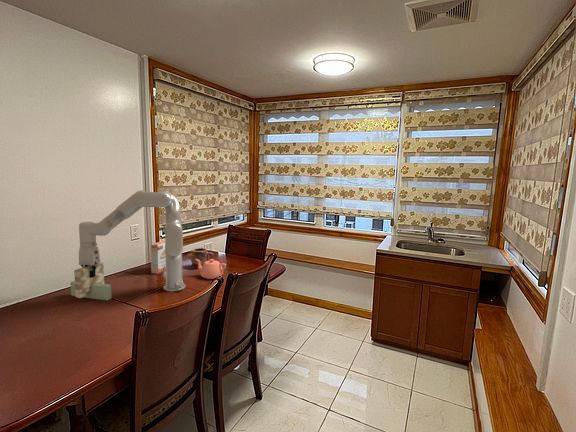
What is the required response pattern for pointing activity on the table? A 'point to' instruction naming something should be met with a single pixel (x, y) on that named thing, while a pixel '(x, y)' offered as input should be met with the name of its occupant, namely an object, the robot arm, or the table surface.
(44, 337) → the table surface
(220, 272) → the teapot
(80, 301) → the table surface
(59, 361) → the table surface
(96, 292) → the slotted base
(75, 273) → the maple plate
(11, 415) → the table surface
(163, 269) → the cracker box
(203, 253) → the decorative planter
